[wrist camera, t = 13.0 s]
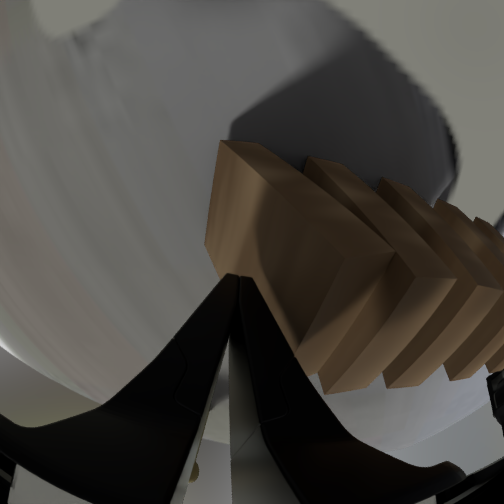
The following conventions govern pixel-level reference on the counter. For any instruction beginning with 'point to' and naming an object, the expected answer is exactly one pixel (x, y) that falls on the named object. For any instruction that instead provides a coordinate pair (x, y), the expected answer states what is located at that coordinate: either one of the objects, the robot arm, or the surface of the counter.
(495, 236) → the walnut domino
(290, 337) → the walnut domino
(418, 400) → the counter surface
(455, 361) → the walnut domino
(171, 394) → the robot arm
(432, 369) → the walnut domino
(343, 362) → the walnut domino
